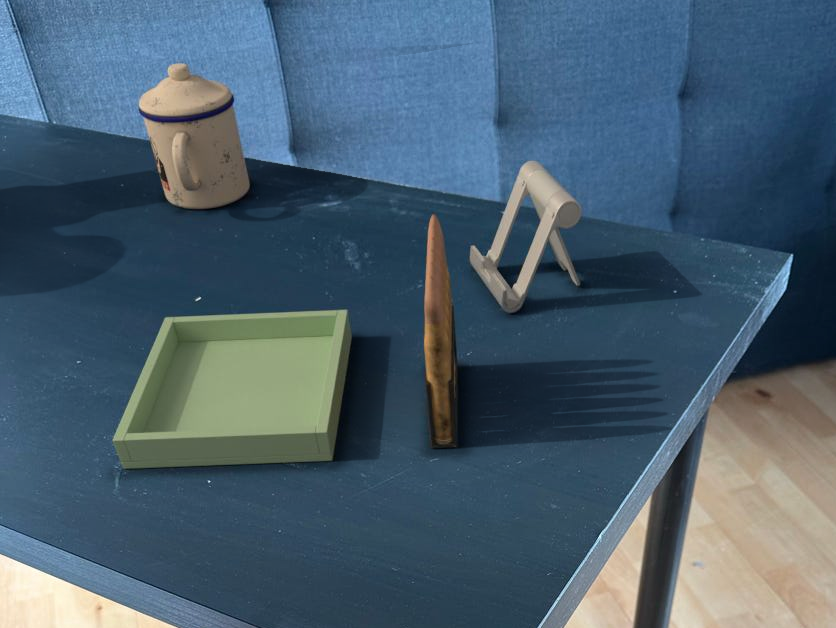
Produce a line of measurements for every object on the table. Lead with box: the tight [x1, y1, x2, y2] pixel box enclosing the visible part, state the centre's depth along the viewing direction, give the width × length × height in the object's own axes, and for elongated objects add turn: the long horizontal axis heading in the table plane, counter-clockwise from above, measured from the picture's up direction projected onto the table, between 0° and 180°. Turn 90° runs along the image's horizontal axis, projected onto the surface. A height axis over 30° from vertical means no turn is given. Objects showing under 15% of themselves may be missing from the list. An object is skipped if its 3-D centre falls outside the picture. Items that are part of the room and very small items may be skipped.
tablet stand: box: [469, 160, 582, 314], centre depth 78 cm, size 9×8×8 cm
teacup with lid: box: [138, 62, 251, 210], centre depth 91 cm, size 12×9×12 cm
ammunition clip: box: [423, 213, 459, 449], centre depth 64 cm, size 11×2×12 cm, turn 1°
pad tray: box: [112, 309, 353, 470], centre depth 69 cm, size 15×17×2 cm
